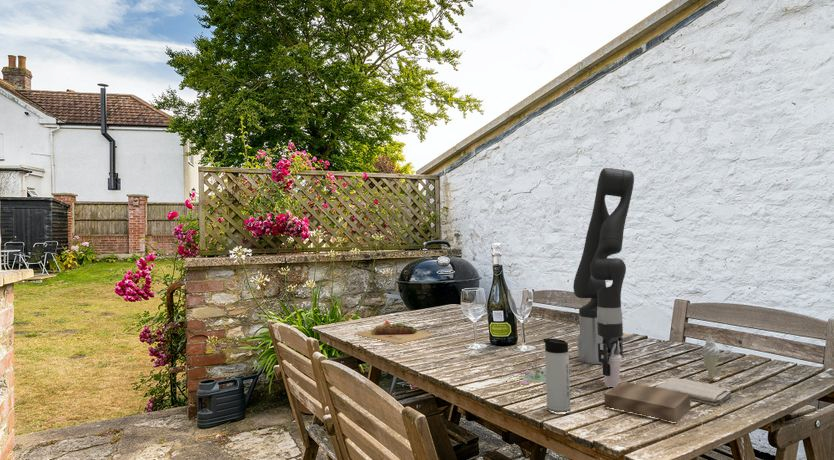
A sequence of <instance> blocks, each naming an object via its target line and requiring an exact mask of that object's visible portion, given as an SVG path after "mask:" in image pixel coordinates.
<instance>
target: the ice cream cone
mask: <svg viewBox="0 0 834 460" xmlns="http://www.w3.org/2000/svg"><path fill="white" fill-rule="evenodd" d="M701 350H702V352H701V356H702V359H703V361H704V365H705V368H706V370H707V373H708V376H709V380H710V381H711V380H713V378H714V376H715V372H716V368H717V363H718V361H719V358H720V349H719V347H718V346H717V345H716V341H715V340H714V339H713V337H712V335H711V333H709V334H708V337H707V339H706V341H705V344H704V345H703V347H702V348H701Z"/></svg>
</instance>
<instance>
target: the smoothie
mask: <svg viewBox="0 0 834 460" xmlns="http://www.w3.org/2000/svg"><path fill="white" fill-rule="evenodd" d="M608 354H609V353H608ZM601 358H602V355H601ZM622 360H623V355H621V356H620V355H618V354H613V357H612V358H611V361H610V371H611V375H610V376H605V375H603V377H604V383H605V387H606V386H610V387H616V386H617V385H619V384H620V383H619V382H620V373H621V371H620V370H621V363H622Z"/></svg>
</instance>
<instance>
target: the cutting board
mask: <svg viewBox="0 0 834 460" xmlns="http://www.w3.org/2000/svg"><path fill="white" fill-rule="evenodd" d="M355 335H358V336H362V337H367V338H372V339H377V340H381V341H387V342H392V343H397V344H403V343H407V342H411V341H414V340H418V339H421V338H426V337H429V336H432V337H433V334H432V333H429V332H421V331H419V330H418V329H417V328H414V327H413V326H412V325H411V326H409V325H406V324H402V323H401V322H396V324H395V323H392V324H391V323H390V322H389V321H388V320H385V322H384V323H383V324H380V325H376V326H375V328H373V329H370V330H365V331H360V332H355V333H354V336H355ZM411 343H412V342H411ZM407 344H408V343H407ZM403 345H404V344H403Z"/></svg>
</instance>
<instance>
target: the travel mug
mask: <svg viewBox="0 0 834 460" xmlns="http://www.w3.org/2000/svg"><path fill="white" fill-rule="evenodd" d="M543 342H544V346H545V348H544V352H545V354H544V356H545V357H544V358H545V359H544V360H545V361H544V362H545V370H546V409H549V410H551V411H554V412H567V411H570V410H571V388H570V387H571V386H570V361H569V360H570V357H569V343H568V342H567V341H566V340H563V339H560V338H559V339H558V338H543ZM570 412H571V411H570Z"/></svg>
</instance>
